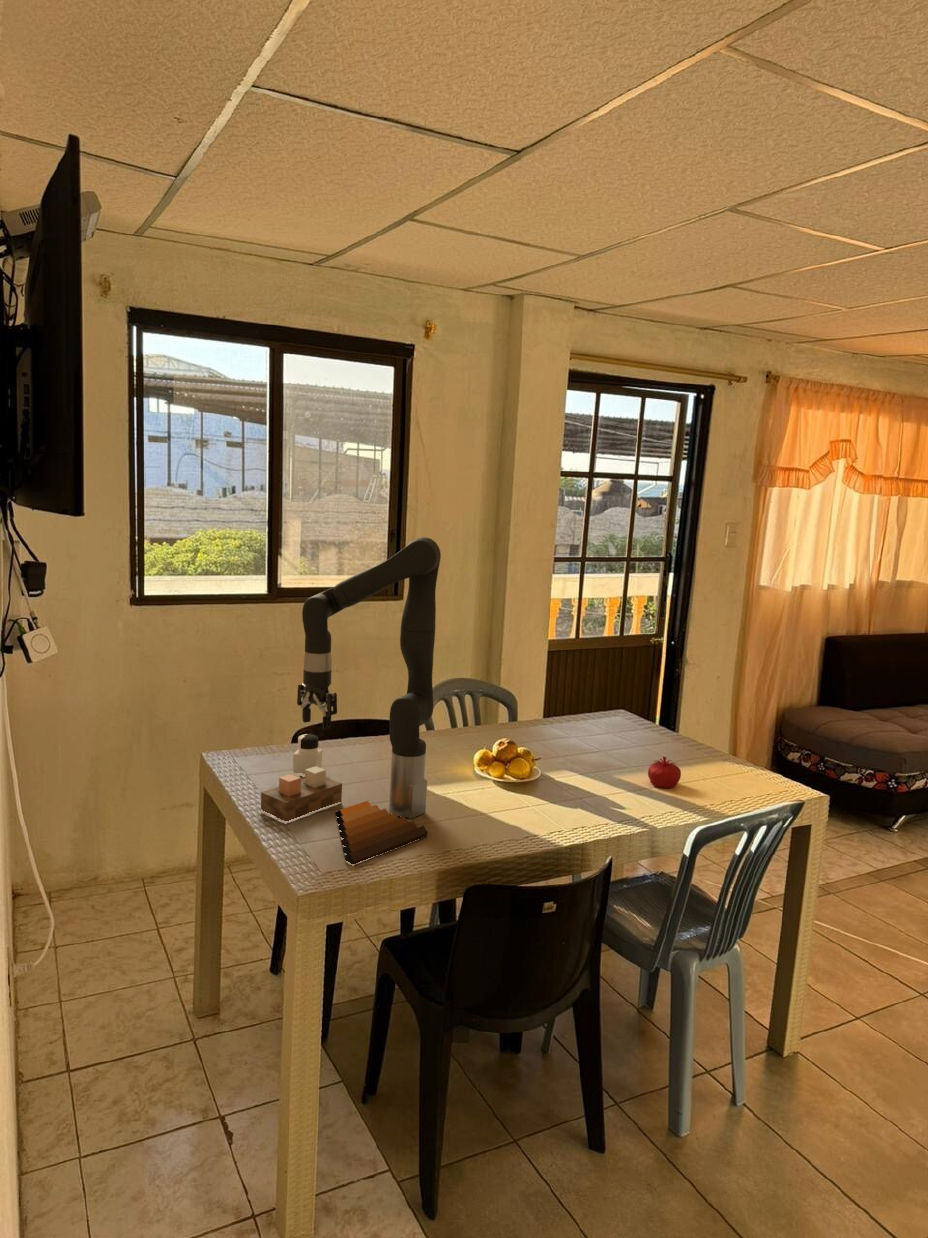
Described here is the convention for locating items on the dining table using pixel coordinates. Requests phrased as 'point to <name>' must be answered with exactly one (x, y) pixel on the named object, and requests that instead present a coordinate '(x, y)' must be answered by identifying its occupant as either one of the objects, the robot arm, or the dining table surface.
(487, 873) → the dining table surface
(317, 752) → the medicine bottle
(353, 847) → the pan flute
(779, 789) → the dining table surface
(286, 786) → the orange-brown rectangular block
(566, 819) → the dining table surface
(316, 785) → the beige rectangular block
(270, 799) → the board
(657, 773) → the pomegranate
